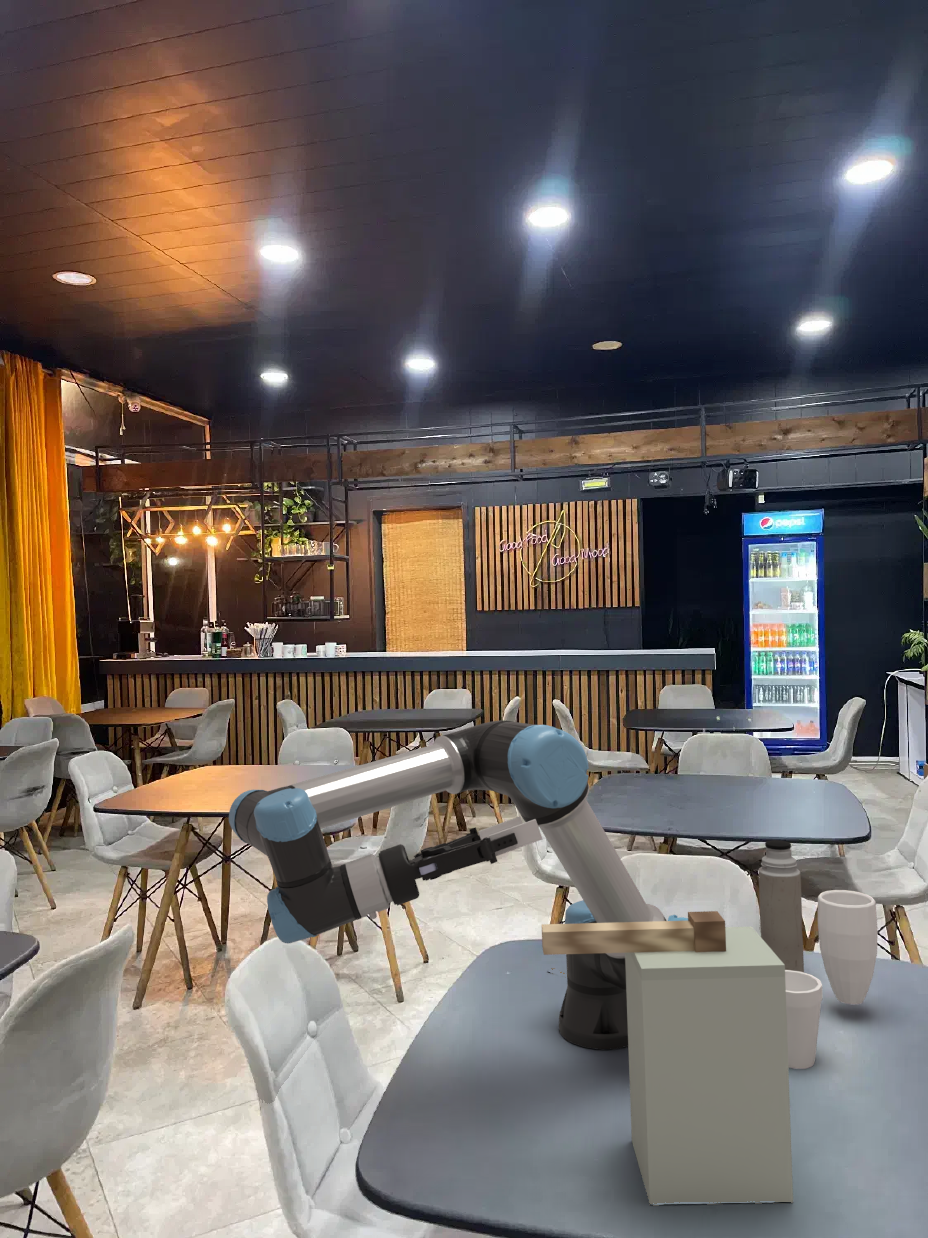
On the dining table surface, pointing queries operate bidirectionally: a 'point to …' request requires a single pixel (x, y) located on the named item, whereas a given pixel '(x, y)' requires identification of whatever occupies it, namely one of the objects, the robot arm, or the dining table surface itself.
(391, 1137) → the dining table surface
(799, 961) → the thermos bottle
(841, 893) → the cup
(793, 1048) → the foam cup
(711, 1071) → the stand
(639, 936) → the beech bar
